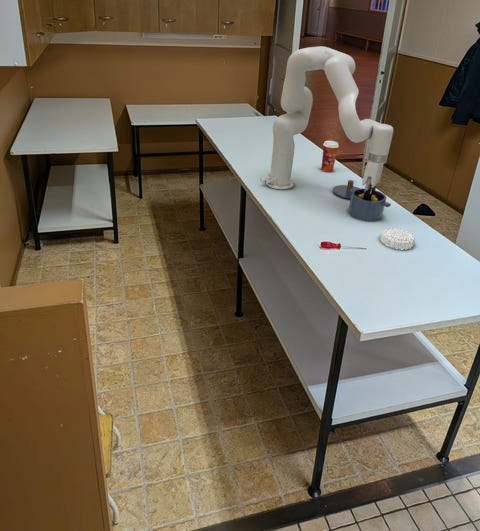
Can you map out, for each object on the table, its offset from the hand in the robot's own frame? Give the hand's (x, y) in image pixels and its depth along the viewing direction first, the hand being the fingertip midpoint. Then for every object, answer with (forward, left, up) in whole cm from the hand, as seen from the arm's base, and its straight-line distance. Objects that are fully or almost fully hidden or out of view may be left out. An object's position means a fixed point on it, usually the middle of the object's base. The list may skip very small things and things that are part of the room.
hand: (367, 200), depth 202 cm
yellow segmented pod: (0, 0, 0) cm, 0 cm away
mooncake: (-6, -24, -6) cm, 26 cm away
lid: (+8, +20, -6) cm, 22 cm away
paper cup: (+18, +48, -6) cm, 52 cm away
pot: (0, 0, -6) cm, 6 cm away
